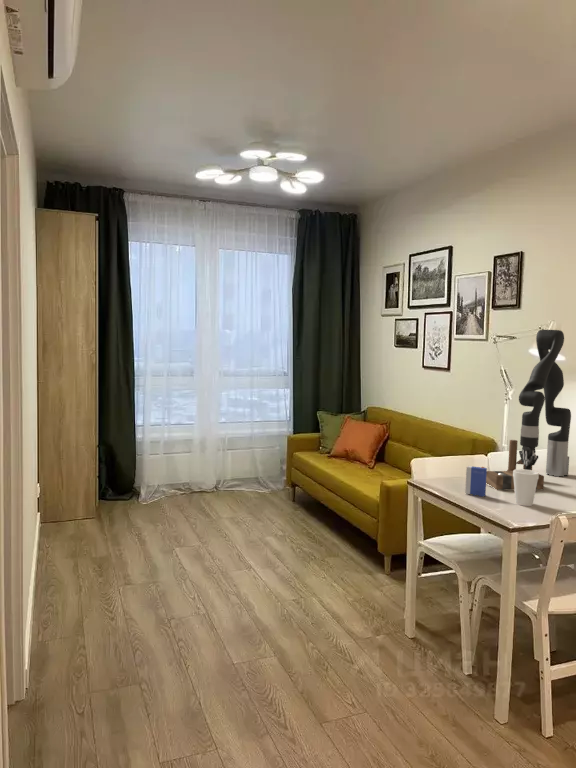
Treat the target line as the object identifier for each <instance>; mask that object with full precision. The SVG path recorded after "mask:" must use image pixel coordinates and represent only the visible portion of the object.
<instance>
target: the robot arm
mask: <svg viewBox="0 0 576 768" xmlns="http://www.w3.org/2000/svg"><path fill="white" fill-rule="evenodd" d="M535 340H536V342H535V343H536V348H537V352H538V357H539V362H538V363H536V365H535V366H534V367H533V369H532V371H531V373H530V376H529V378H528V379H529V380H528V381H527V383H526V385H525V386H524V387H523V389H521V391H520V393H519V395H518V402H519V404H520V405H521V406H522V407H531V408H532V410H531V411H524V412H523V413H522V415H521V427H520V439H519V440H520V441H519V445H520V446H522V448H521V450H518V454H519V457H520V459H521V461H522V463H524V465H525V470H531V466H532V467H533V466H535V465H536V462H537V461H538V459H539V455H537V454H536V451H537V450H536V448H537V447H539V439H540V427H539V426H540V417H541V416H540V415H541V412H542V410H543V406H544V407H545V408H544V409H545V410H544V413H545V422H546V423H547V425H548V426H550V427H551V426H552V427H558V428H559V427H560V429H559V430H558V431H555V432H551V433H550V432H549V433H548V435H547V448H546V451H547V452H546V465H545V474H546V473H547V474H549V475H548V476H551V475H554V476H553V477H559V476H563V477H565V476H564V475H568V476H569V472H570V471H569V467H570V456H568V455H569V453H568V452H569V438H570V429H571V423H572V422H571V421H572V411H571V410H570V408H568V407H555V401H556V398H557V397H558V396H559V394H560V393H561V391H562V390H563V388H564V386H565V381H564V373H563V369H561V367H560V366H559V364H558V363H557V362H556V360H557V358H558V356H559V354H560V352H561V350H562V349H563V346H564V342H565V333H564V332H563V330H561V329H540V330H538V331H537V333H536V337H535ZM540 390H543V392H542V391H540ZM547 474H546V475H547Z"/></svg>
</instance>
